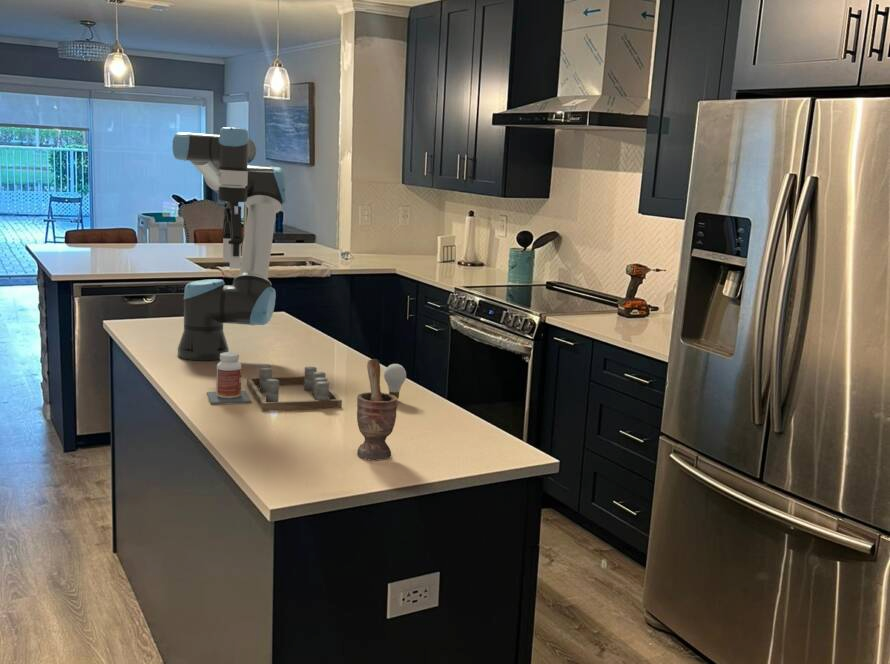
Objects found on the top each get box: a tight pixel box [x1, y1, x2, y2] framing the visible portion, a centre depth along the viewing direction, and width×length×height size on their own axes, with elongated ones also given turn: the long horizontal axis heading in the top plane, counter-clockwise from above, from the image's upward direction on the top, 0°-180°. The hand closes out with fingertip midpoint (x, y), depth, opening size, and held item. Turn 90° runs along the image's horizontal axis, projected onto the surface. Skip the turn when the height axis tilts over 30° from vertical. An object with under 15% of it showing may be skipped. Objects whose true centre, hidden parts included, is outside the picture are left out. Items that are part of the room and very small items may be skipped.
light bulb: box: [383, 363, 407, 400], centre depth 232 cm, size 6×6×10 cm
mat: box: [206, 390, 253, 406], centre depth 225 cm, size 10×10×1 cm
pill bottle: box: [216, 351, 242, 399], centre depth 224 cm, size 6×6×11 cm
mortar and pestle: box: [356, 358, 398, 461], centre depth 189 cm, size 12×9×20 cm
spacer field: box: [246, 363, 343, 412], centre depth 230 cm, size 25×20×6 cm
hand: (231, 265), depth 239 cm, fingers open, 13 cm apart
